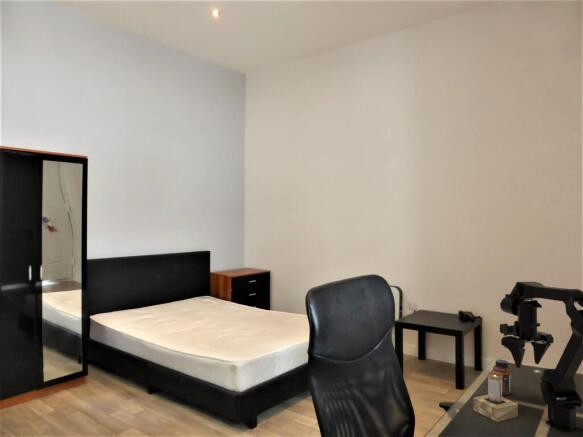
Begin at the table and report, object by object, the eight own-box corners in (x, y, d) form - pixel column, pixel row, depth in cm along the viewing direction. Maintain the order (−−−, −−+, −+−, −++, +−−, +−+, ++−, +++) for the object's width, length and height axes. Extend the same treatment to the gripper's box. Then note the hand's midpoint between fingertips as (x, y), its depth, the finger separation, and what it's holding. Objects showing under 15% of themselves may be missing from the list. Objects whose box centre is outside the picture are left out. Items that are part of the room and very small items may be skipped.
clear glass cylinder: (506, 414, 132) (505, 375, 132) (496, 417, 130) (496, 377, 130) (494, 408, 136) (494, 371, 136) (484, 411, 134) (484, 373, 134)
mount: (517, 416, 131) (517, 403, 131) (497, 422, 127) (497, 408, 127) (493, 405, 139) (493, 393, 139) (473, 410, 135) (473, 397, 135)
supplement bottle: (492, 393, 148) (491, 362, 149) (492, 388, 154) (492, 357, 154) (511, 397, 146) (510, 364, 146) (511, 391, 151) (510, 359, 151)
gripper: (524, 312, 151) (524, 355, 151) (487, 316, 143) (487, 362, 143) (554, 318, 141) (554, 364, 141) (516, 323, 133) (516, 372, 133)
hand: (527, 365), depth 139 cm, fingers open, 9 cm apart
